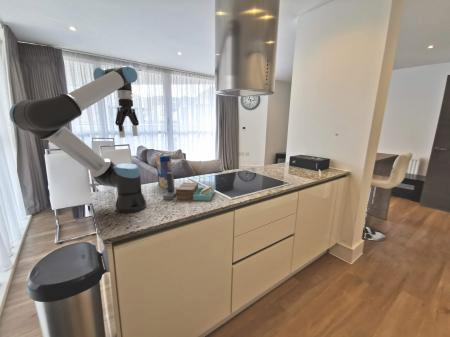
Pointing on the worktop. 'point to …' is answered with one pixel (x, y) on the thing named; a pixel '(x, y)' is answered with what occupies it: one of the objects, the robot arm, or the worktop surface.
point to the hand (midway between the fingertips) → (129, 136)
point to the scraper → (170, 187)
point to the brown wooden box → (186, 191)
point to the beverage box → (163, 169)
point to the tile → (206, 190)
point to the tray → (199, 196)
